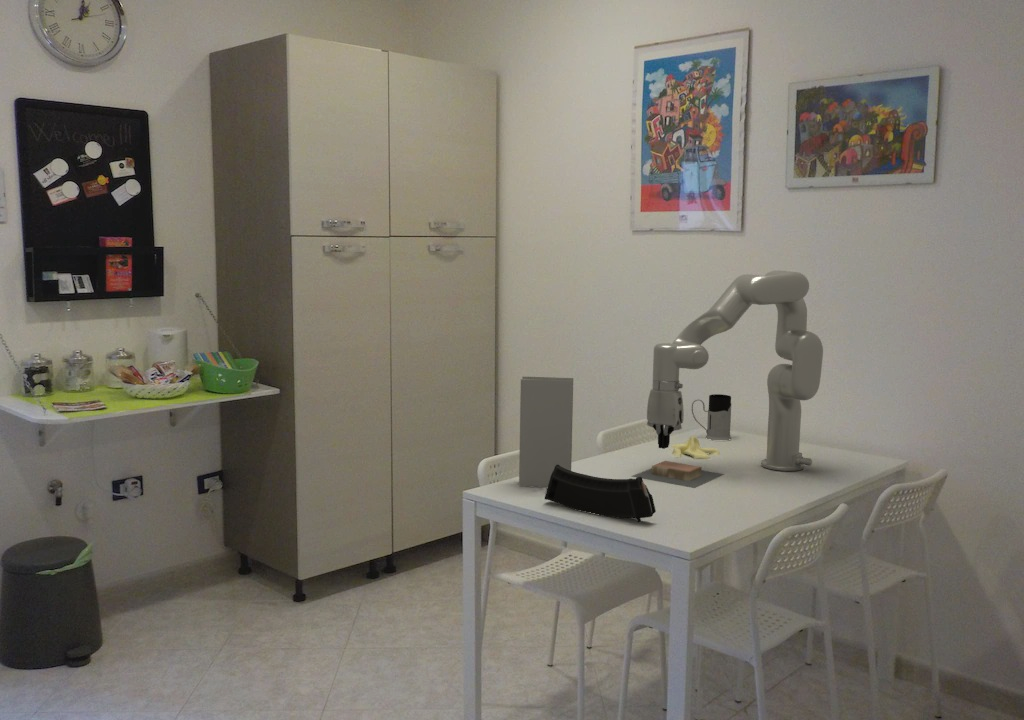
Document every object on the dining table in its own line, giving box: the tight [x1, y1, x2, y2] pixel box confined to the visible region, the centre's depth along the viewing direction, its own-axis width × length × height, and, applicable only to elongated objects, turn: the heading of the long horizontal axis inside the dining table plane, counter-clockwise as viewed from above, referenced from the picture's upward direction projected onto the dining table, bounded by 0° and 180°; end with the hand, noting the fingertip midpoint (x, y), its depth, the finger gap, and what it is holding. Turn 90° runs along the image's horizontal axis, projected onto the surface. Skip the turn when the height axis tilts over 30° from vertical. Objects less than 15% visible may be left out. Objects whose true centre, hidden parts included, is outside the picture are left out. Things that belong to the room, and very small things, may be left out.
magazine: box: [544, 464, 657, 523], centre depth 235 cm, size 17×3×30 cm
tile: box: [651, 460, 703, 481], centre depth 273 cm, size 3×8×12 cm
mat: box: [631, 467, 725, 489], centre depth 273 cm, size 20×20×1 cm
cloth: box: [667, 435, 721, 460], centre depth 303 cm, size 22×19×6 cm
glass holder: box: [691, 393, 732, 441], centre depth 326 cm, size 9×14×15 cm, turn 92°
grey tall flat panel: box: [518, 376, 574, 488], centre depth 260 cm, size 14×6×30 cm, turn 84°
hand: (663, 447), depth 275 cm, fingers closed
